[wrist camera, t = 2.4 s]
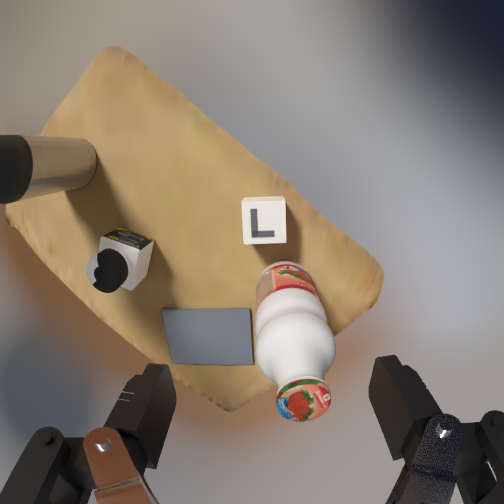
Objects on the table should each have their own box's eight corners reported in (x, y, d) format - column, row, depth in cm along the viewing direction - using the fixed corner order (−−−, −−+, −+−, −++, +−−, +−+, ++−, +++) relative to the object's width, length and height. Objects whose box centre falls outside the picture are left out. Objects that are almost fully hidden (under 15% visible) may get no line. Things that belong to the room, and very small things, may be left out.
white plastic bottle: (246, 274, 50) (231, 389, 23) (297, 249, 48) (338, 348, 21) (270, 318, 52) (277, 446, 25) (319, 296, 50) (366, 414, 23)
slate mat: (173, 360, 55) (172, 363, 54) (162, 308, 52) (161, 310, 51) (252, 362, 55) (252, 364, 54) (249, 308, 51) (249, 310, 51)
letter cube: (245, 235, 48) (243, 245, 42) (243, 197, 46) (241, 202, 40) (283, 234, 48) (286, 243, 42) (282, 196, 46) (285, 200, 40)
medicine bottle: (155, 238, 48) (126, 260, 37) (147, 276, 50) (119, 305, 39) (119, 226, 48) (83, 244, 36) (113, 263, 50) (79, 288, 38)
